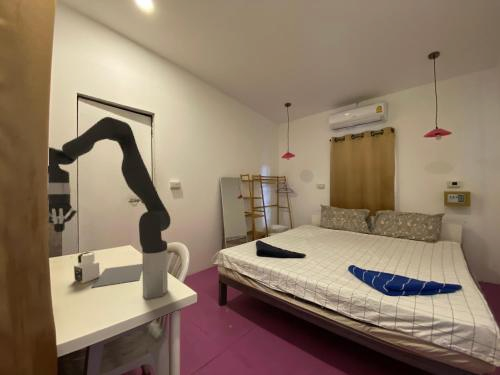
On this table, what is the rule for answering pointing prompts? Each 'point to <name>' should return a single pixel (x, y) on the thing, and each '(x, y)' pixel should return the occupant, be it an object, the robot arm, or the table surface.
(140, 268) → the mat
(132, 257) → the table surface
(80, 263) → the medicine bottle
